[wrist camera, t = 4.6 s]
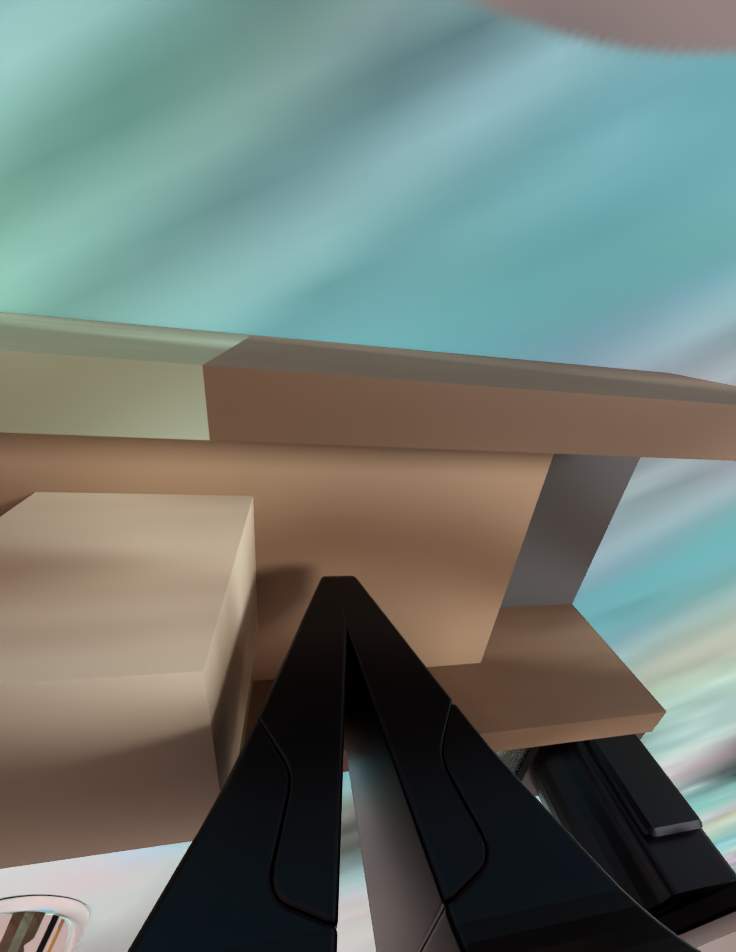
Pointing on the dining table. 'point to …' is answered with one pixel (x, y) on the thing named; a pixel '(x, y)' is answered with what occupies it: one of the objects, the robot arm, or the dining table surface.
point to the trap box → (378, 489)
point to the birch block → (120, 667)
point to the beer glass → (41, 924)
